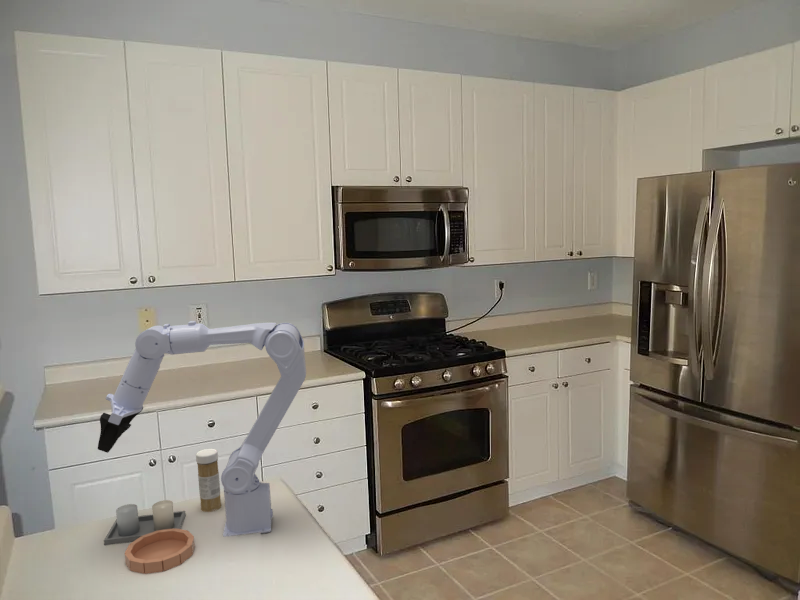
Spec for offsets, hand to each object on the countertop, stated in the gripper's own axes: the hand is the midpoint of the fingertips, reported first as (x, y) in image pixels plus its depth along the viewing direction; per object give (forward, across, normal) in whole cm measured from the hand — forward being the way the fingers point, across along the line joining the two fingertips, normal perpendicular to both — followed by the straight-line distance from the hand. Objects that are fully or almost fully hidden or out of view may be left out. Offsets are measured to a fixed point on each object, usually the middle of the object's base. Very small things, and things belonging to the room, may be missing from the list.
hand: (109, 442), depth 118 cm
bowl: (+13, +11, +18) cm, 25 cm away
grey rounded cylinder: (+17, 0, +11) cm, 20 cm away
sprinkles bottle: (+10, -7, +25) cm, 28 cm away
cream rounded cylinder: (+13, 0, +17) cm, 22 cm away
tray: (+16, 0, +14) cm, 21 cm away
